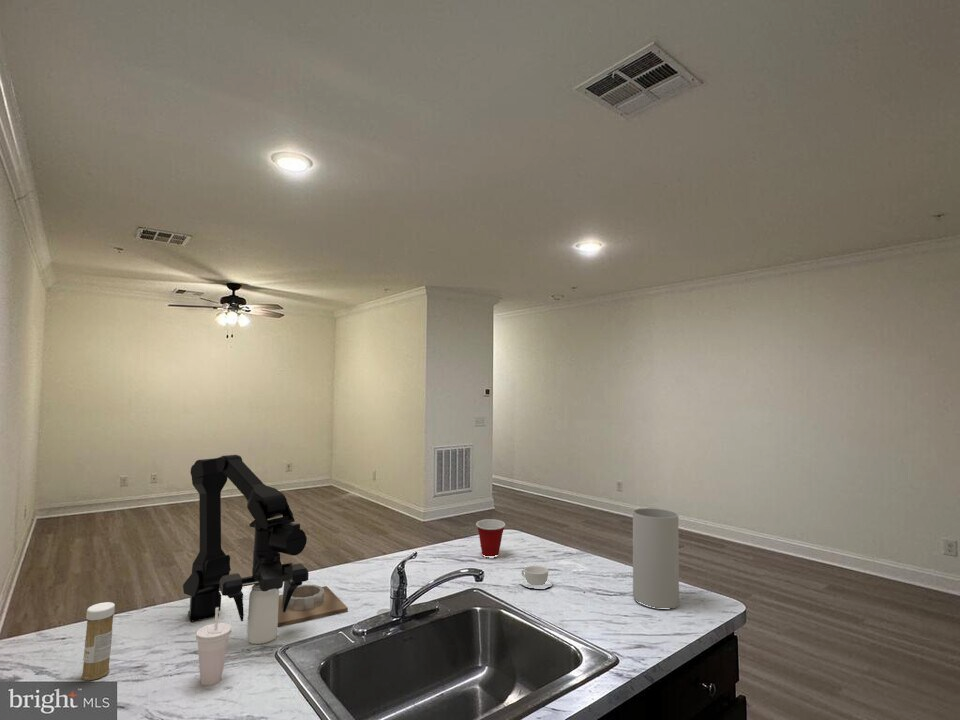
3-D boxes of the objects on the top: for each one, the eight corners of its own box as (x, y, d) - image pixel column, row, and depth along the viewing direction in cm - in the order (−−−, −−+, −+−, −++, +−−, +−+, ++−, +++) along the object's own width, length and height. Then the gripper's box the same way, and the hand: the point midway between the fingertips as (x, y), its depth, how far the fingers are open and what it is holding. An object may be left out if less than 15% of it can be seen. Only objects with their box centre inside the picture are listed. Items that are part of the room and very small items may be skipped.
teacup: (557, 583, 157) (557, 568, 157) (543, 593, 149) (544, 577, 149) (529, 577, 162) (529, 562, 163) (514, 586, 154) (514, 570, 154)
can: (265, 646, 113) (268, 592, 114) (240, 643, 115) (243, 589, 116) (282, 633, 120) (285, 582, 121) (258, 630, 121) (261, 579, 122)
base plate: (276, 627, 123) (276, 623, 123) (260, 602, 138) (261, 598, 138) (347, 611, 133) (347, 607, 133) (326, 589, 148) (326, 586, 148)
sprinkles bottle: (78, 675, 100) (84, 606, 101) (106, 666, 104) (111, 599, 105) (84, 684, 97) (90, 612, 98) (112, 674, 101) (118, 605, 102)
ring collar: (289, 613, 128) (289, 601, 129) (279, 600, 137) (280, 589, 137) (328, 605, 134) (328, 594, 134) (316, 593, 142) (317, 582, 142)
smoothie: (204, 693, 95) (208, 616, 96) (185, 682, 99) (190, 608, 100) (235, 677, 101) (239, 605, 102) (217, 668, 104) (221, 598, 105)
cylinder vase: (664, 614, 135) (664, 520, 137) (624, 600, 145) (624, 511, 147) (687, 603, 144) (686, 514, 145) (647, 590, 153) (647, 506, 155)
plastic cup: (472, 560, 178) (473, 525, 179) (477, 551, 188) (478, 518, 189) (503, 562, 176) (503, 527, 177) (506, 553, 187) (507, 520, 188)
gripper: (228, 564, 107) (224, 640, 106) (316, 550, 117) (313, 620, 116) (221, 550, 116) (216, 620, 115) (303, 539, 127) (300, 603, 125)
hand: (263, 616), depth 118 cm, fingers open, 9 cm apart
